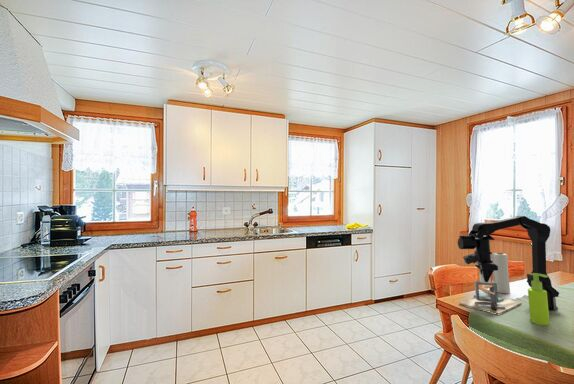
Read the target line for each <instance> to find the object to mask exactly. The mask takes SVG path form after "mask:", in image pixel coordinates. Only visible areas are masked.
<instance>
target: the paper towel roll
mask: <svg viewBox="0 0 574 384" xmlns="http://www.w3.org/2000/svg"><path fill="white" fill-rule="evenodd" d="M491 260H492V262H493V263H494V264H496V265H497V266H498V270H497V271H495V270H494V271H493V273H492V282H496V283H497V292H498V293H501V294H510V293H511V288H510V287H511V286H510V275H509V274H510V272H509V263H508V254H507V253H501V252H492V254H491Z"/></svg>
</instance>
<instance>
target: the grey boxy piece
mask: <svg viewBox="0 0 574 384" xmlns="http://www.w3.org/2000/svg"><path fill="white" fill-rule="evenodd" d="M478 274H479V281H476V280H475V281H474V288H475V289H474V290H475V295H476V296H475V298H476V299H477V300H478V301H489V302H491V300H490V297H482V296H479V293H480V286H482V285H493V290H494V294H496V301H497V302H499V300H498V297H499V295H498V293H499V292H497V283H496V282H493V281H492V278H491V277H492V276H491V277H490V279H489V281H488V282H485V280H484V277H483V273H480V272H479V273H478Z"/></svg>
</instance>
